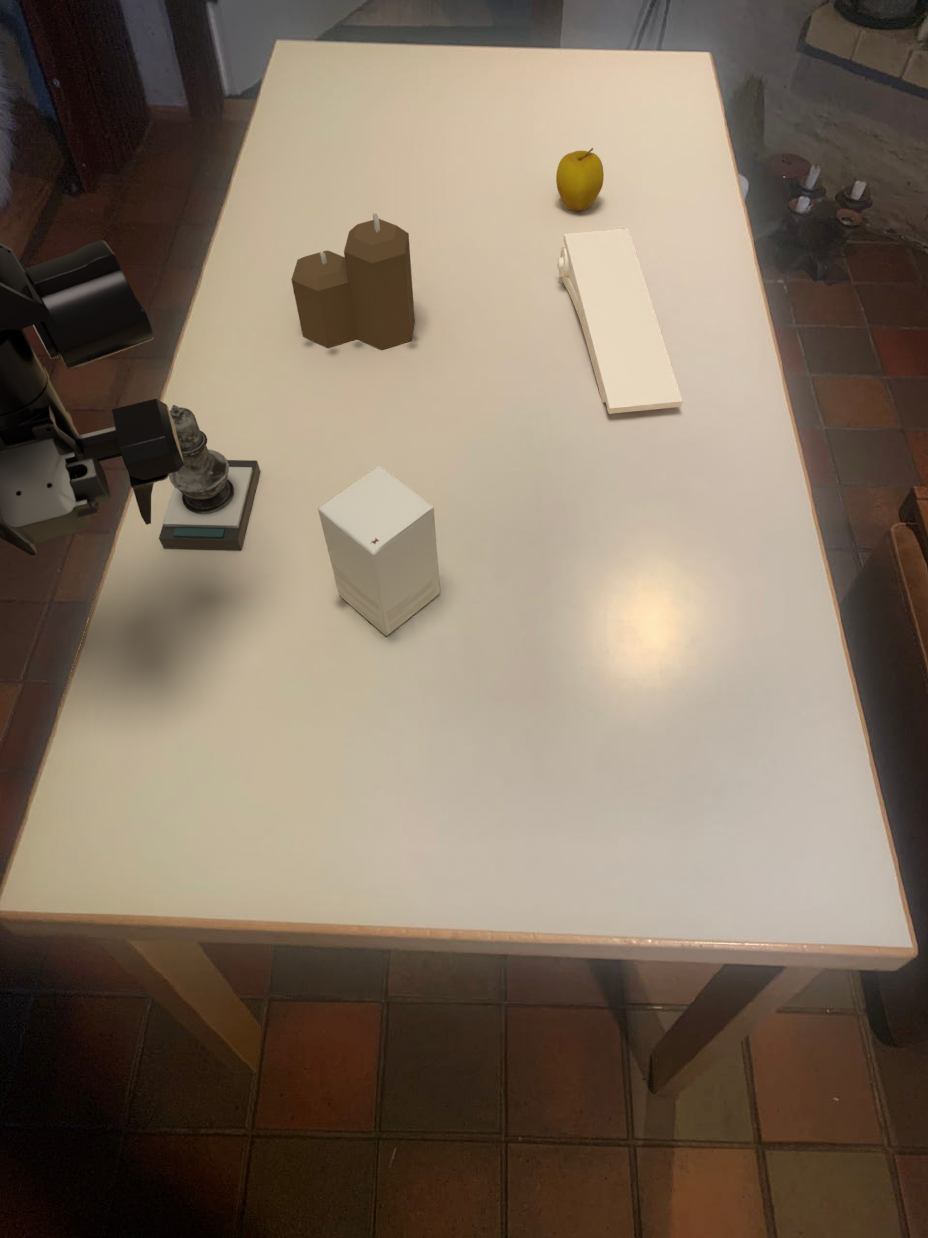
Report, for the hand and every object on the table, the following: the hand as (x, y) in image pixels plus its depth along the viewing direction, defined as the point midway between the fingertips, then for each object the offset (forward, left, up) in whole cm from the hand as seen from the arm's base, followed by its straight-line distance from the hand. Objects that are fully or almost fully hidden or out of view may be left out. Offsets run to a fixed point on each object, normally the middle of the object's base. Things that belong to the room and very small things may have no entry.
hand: (91, 535), depth 69 cm
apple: (+68, +50, -13) cm, 85 cm away
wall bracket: (+60, +22, -13) cm, 65 cm away
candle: (+33, +36, -13) cm, 51 cm away
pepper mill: (+9, +12, -11) cm, 19 cm away
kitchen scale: (+9, +12, -13) cm, 20 cm away
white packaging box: (+23, -5, -13) cm, 27 cm away
